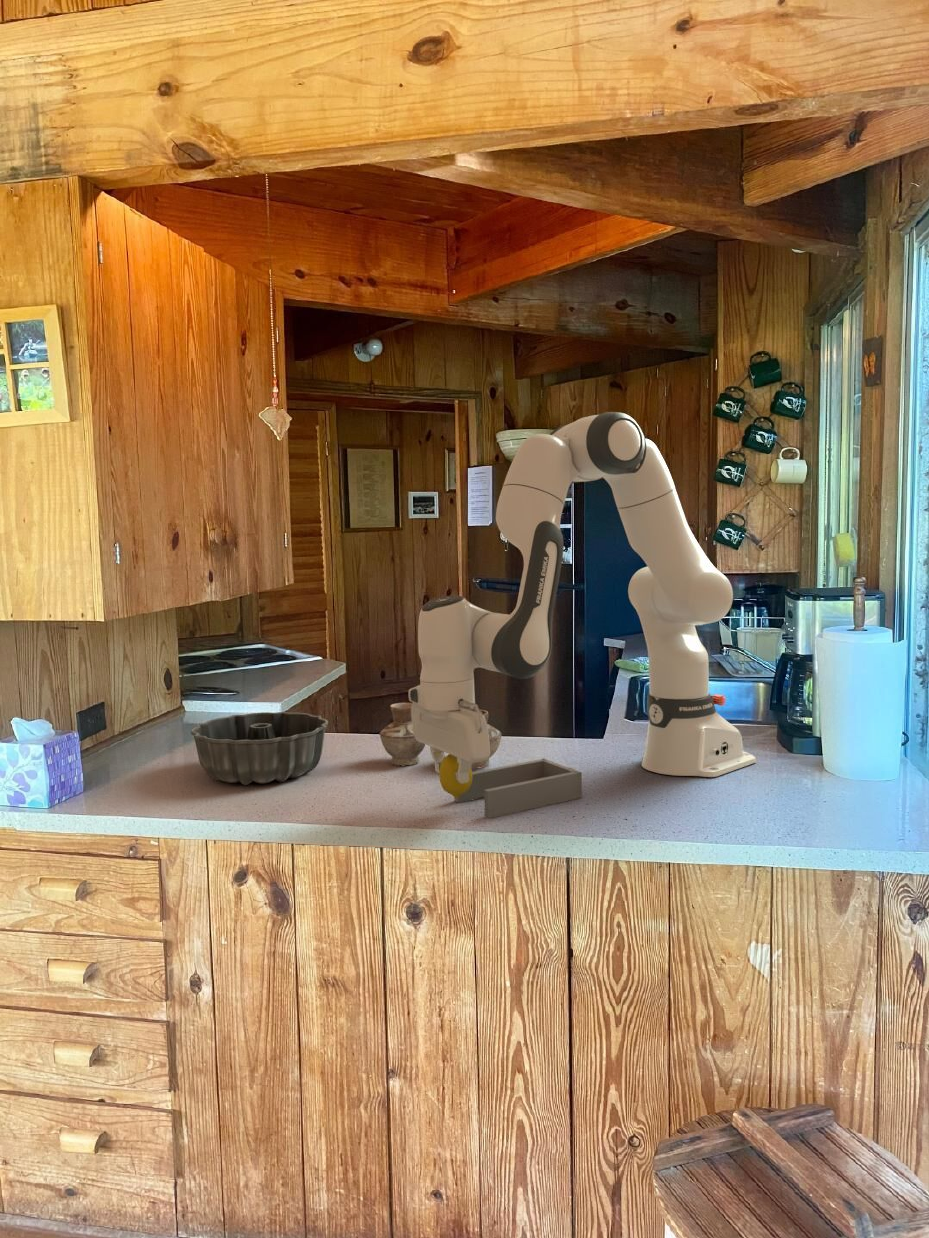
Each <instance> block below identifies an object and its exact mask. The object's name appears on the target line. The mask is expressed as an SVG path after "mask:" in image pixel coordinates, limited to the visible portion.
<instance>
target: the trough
mask: <svg viewBox="0 0 929 1238" xmlns="http://www.w3.org/2000/svg"><path fill="white" fill-rule="evenodd" d="M453 797H454V796H453ZM481 797H483V798H484V817H485V818H488V819H492V818H495V817H501V816H505V815H509V814H515V813H519V812H523V811H524V812H525V811H528V810H531V809H532V810H533V809H537V808H542V807H545V806H550V805H555V804H559V803H564V802H567V801H573V800H578V799H582V797H583V783H582V771H579V770H575V769H573V768H570V767H568V766H565V765H562V764H559V763H557V762H554V761H551V760H548V759H546V758H540V759H539V758H538V759H535V760H534V759H533V760H530V761H529V760H528V761H525V762H524V761H523V762H520V763H519V762H518V763H514V764H509V765H503V766H499V767H498V766H497V767H493V768H492V767H491V768H489V769H488V768H487V769H483V770H477V771H472V783H471V786H470V788H469V789H468V790H467V791H466V792H465V793H463V794H461V796H460V797H459V798H455V797H454V802H455V801H456V803H457V802H458V803H463V801H464V802H467V801H466V800H469V801H472V799H474V800H477V799H476V798H478V799H482V798H481ZM458 803H457V804H458Z"/></svg>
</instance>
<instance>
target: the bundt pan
mask: <svg viewBox="0 0 929 1238" xmlns="http://www.w3.org/2000/svg"><path fill="white" fill-rule="evenodd" d="M328 725H329V721H328V719H326V718H322V716H321V715H313V714H310V713H305V712H287V711H277V712H268V711H267V712H265V711H264V712H252V713H251V712H250V713H244V714H232V715H230V716H226V717H225V716H224V717H218V718H213V719H210V720H207V721H205V722H203V723H202V722H201V723H197V724H195V727H193V728H192V729H191V731H190V734H191V736H193V738H194V742H195V747H196V752H197V756H198V760H199V764H200V765H201V767H202V768H203V770H204V772H205V773H206V774H207V776H209V777H210V778H211V779H214V780H216V781H221V782H225V783H229V784H235V783H236V784H237V783H241V784H242V785H244V786H248V785H250V784H251V783H253V782H254V783H257V784H267V783H268V784H269V783H270V782H272V781H274V780H275V781H276V782H279V783H283V782H285V781H286V780H287V779H294V778H299V777H300V776H303V775H306V774H308V773H310V772H312V771H313V770H314V769H316V767H317V766H318V765H319V763H320V761H321V758H322V753H323V748H324V741H325V734H326V733H325V732H326V730H327V726H328Z"/></svg>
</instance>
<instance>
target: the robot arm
mask: <svg viewBox="0 0 929 1238" xmlns="http://www.w3.org/2000/svg"><path fill="white" fill-rule="evenodd" d="M600 479H604V480H605V481H606V482H607V483H608V485H609V487H610V488H611V491H612V495H613V499H614V502H615V505H616V508H617V511H618V513H619V514H618V515H619V517H620V521H621V522H622V525H623V528H624V531H625V534H626V537H627V540H628V543H629V545H630V547H631V548H632V549H633V551H634V552H636V553H637V554H638V556H640V557H641V559H642V560H643V562H644V563H645V564H646V566H645V567H642V568H640V569H638V570H637V571H636V572H635V573H634V574H633V575H632V577H631V579H630V581H629V584H628V589H627V593H628V599H629V601H630V604H631V605H632V606H633V608H634V609H635V610H636V613H637V615H638V618H639V621H640V624H641V628H642V632H643V635H644V638H645V639H644V640H645V644H646V648H647V649H646V650H647V656H648V676H649V677H648V679H649V680H648V682H649V683H648V684H649V685H648V686H649V692H648V693H647V696H646V697H647V700H646V706H647V707H646V708H647V709H646V711H647V717H648V725H647V734H646V740H645V741H646V743H645V747H644V754H643V758H642V761H641V767H642V768H644V769H645V770H647V771H649V772H653V773H657V774H661V775H669V776H680V777H681V776H682V777H683V776H684V777H685V776H687V777H689V776H690V777H692V776H693V777H704V778H707V777H708V778H716V777H719V776H721V775H725V774H727V773H730V772H733V771H735V770H738V769H742V768H743V767H744V768H745V767H747V766H749V765H752V764H755V763H756V762H757V760H756V759H757V757H756V756H755V755H753V754H751V753H749V752H747V751H744V745H743V744H744V743H743V738H742V737H743V736H742V734H741V732H740V730H739V729H737V727H736V726H734V725H733V724H731V723H730V722H729V721H727V720H726V719H725V718H724V717H722V716H721V714H719V713H718V712H717V709H716V706H715V705H718V706H721V707H722V706H724V705H725V703H726V701H727V697H725V695H724V694H723V695H722V694H714V695H711V694H710V693H709V691H710V690H709V689H710V687H709V682H710V681H709V679H710V678H709V669H710V668H709V654H708V651H707V649H706V647H705V646H704V645H703V644H702V642H701V639H700V638H699V636H698V632H697V629H696V626H702V625H707V624H712V623H716V622H719V621H720V620H722V619H723V618H724V617H725V616H727V614H728V613H729V611H730V609H731V608H732V604H733V600H734V591H733V587H732V584H731V582H730V580H729V579H728V577H727V576H726V575H724V574H723V573H722V572H720V570H719V569H717V567H715V566H714V564H713V563H712V562H711V561H710V558H709V557H708V556H707V555H706V552H704V550H703V548H702V547H701V546H700V544H699V543H698V541H697V539H696V538H695V535H694V534H693V532H692V529H691V528H690V526H689V523H688V521H687V518H686V516H685V513H684V510H683V507H682V503H681V501H680V498H679V495H678V493H677V489H676V486H675V483H674V479H673V478H672V475H671V473H670V470H669V468H668V466H667V464H666V461H665V460H664V458H663V455H662V454H661V452H660V450H659V448H658V447H657V445H656V444H655V443H654V442H653V441H652V440H650V439H648V438H645V435H644V433H643V431H642V429H641V426H639V424H638V423H637V421H636V420H635V419H634V418H633V417H631V416H630V415H628V414H626V413H624V412H618V411H606V412H603V413H600V414H594V415H589V416H583V417H581V418H579V419H577V420H575V421H573V422H570V423H569V424H566V425H561V426H558V427H557V428H556V429H554V430H553V431H551V432H550V433H549V434H548V433H537V434H533V435H530V436H528V437H526V438H524V440H523V442H522V443H521V444H520V445H519V447H518V450H517V452H516V453H515V455H514V458H513V460H512V462H511V464H510V466H509V469H508V471H507V473H506V475H505V479H504V481H503V484H502V487H501V488H502V489H501V491H500V494H499V498H498V501H497V505H496V511H495V512H496V513H495V522H496V525H497V528H498V531H499V532H500V533H501V534H502V536H503V537H504V539H506V540H507V542H509V543H510V544H511V545H513V546H514V547H516V548H518V550H519V551H520V552H521V555H522V559H523V569H522V575H521V580H520V584H519V585H520V586H519V590H518V591H519V592H518V596H517V602H516V606H515V608H514V609H513V611H512V612H511V613H510V614H507V613H500V612H492V611H490V610H487V609H483V608H481V607H479V606H477V605H475V604H473V603H471V602H470V601H468V600H467V599H466V598H465V597H464V596H461V595H456V594H455V595H446V596H440V597H436V598H433V599H431V600H428V601H427V602H425V604H424V605H422V607H421V609H420V611H419V617H418V623H417V624H418V625H417V627H418V628H417V633H418V634H417V642H418V643H417V645H418V648H417V649H418V656H419V658H420V662H421V671H420V674H419V675H420V677H419V680H420V682H419V683H420V684H418V685H416V686H415V687H411V688H410V689H408V701H409V702H410V703H412V705H411V716H412V727H413V733H414V736H415V738H416V740H417V741H419V742H421V743H424V744H425V746H426V745H427V746H428V747H430V753H431V757H432V759H433V762H434V767H435V768H434V770H435V772H436V773H437V774H439V770H440V765H441V762H442V760H443V759H444V758H445V757H446V756H445V753H446V754H448V755H449V754H450V755H453V756H455V757H457V763H459V767H458V771H455V776H456V781H457V782H459V783H462V784H463V783H467V782H469V771H470V768H471V766H472V763H475V762H481V761H485V760H487V759H488V758H489V756H490V742H489V734H488V727H487V724H488V722H486V719H485V717H484V715H483V714H482V712H480V710H481V709H480V708H479V706H478V704H477V703H476V696H475V676H474V671H475V669H477V668H481V669H485V670H488V671H493V672H498V673H501V674H504V675H506V676H509V677H512V678H514V679H520V680H523V679H525V680H526V679H530V678H532V677H534V676H536V675H537V674H538V673H540V672H541V671H542V670H543V668H544V667H545V665H546V664H547V663H548V661H549V659H550V656H551V654H552V646H553V631H552V630H553V617H554V616H553V615H554V608H555V604H556V599H557V593H558V587H559V583H560V575H561V569H562V564H563V557H564V556H563V555H564V536H563V534H562V533H563V532H562V530H561V518H562V514H563V510H564V506H565V502H566V500H567V496H568V490H569V488H570V486H571V485H572V484H575V483H580V482H581V483H582V482H584V483H585V482H592V481H593V482H594V481H597V480H600ZM489 759H490V758H489Z"/></svg>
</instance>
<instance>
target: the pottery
mask: <svg viewBox="0 0 929 1238" xmlns="http://www.w3.org/2000/svg"><path fill="white" fill-rule="evenodd" d="M412 703H413V702H398V703H393V704H390V710H391V715H392V720H393V721H392V722H391V723H389V724H388V725H386V726H385V727H384V728H383V729H382V730H381V731H380V732H379V738H380V740H381V743H382V746H383V748H384V750H385V751H386V753H387V754H388V755H390V757H392V758H391V762H390V764H391V765H393V764H394V765H393V766H396V765H401V766H400V767H406V766H405V765H409V766H413V764H414V765H417V764H419V763H420V759H419V755H420V754H421V753H422V752H423V750H424V749H425V747H426V744H424V743H421V742H419V741H417V740H416V738H415V736H414V733H413V727H412V716H411V705H412ZM479 710H480V712H482V714H483V715H484V717H485V719H486V722H487V727H488V734H489V742H490V756H489V758H488V759H487V760H485V761H481V762H475V763H472V766H471V768H476V769H479V768H478V767H482V768H485V767H488V766H489V764H490V759H491V758H492V756H494V754H496V752H497V751H498V748H499V747H500V744H501V741H502V732H501V731H500V730H498V729H497V728H496V727H494V726H493V725H490V724H489V723H488V720H489V712H488V711H487V710H483V709H479ZM418 762H419V763H418ZM416 763H417V764H416Z"/></svg>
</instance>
